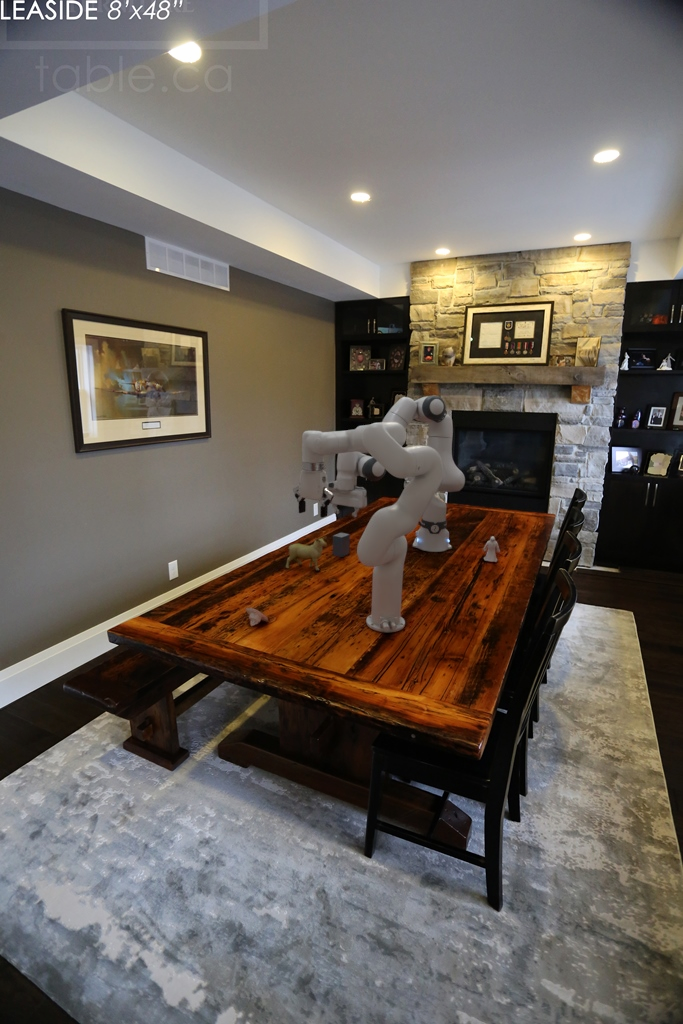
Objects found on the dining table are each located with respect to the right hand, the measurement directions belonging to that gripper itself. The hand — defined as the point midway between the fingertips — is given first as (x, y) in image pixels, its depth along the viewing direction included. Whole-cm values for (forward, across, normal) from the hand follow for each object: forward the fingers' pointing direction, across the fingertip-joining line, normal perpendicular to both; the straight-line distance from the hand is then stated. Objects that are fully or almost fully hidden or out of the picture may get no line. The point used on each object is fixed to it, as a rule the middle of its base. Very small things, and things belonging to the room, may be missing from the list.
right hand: (345, 515), depth 224 cm
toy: (+19, +3, +24) cm, 31 cm away
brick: (+19, +2, 0) cm, 19 cm away
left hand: (-11, -15, +45) cm, 48 cm away
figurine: (+18, -57, -33) cm, 68 cm away
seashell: (+20, -14, +73) cm, 77 cm away
